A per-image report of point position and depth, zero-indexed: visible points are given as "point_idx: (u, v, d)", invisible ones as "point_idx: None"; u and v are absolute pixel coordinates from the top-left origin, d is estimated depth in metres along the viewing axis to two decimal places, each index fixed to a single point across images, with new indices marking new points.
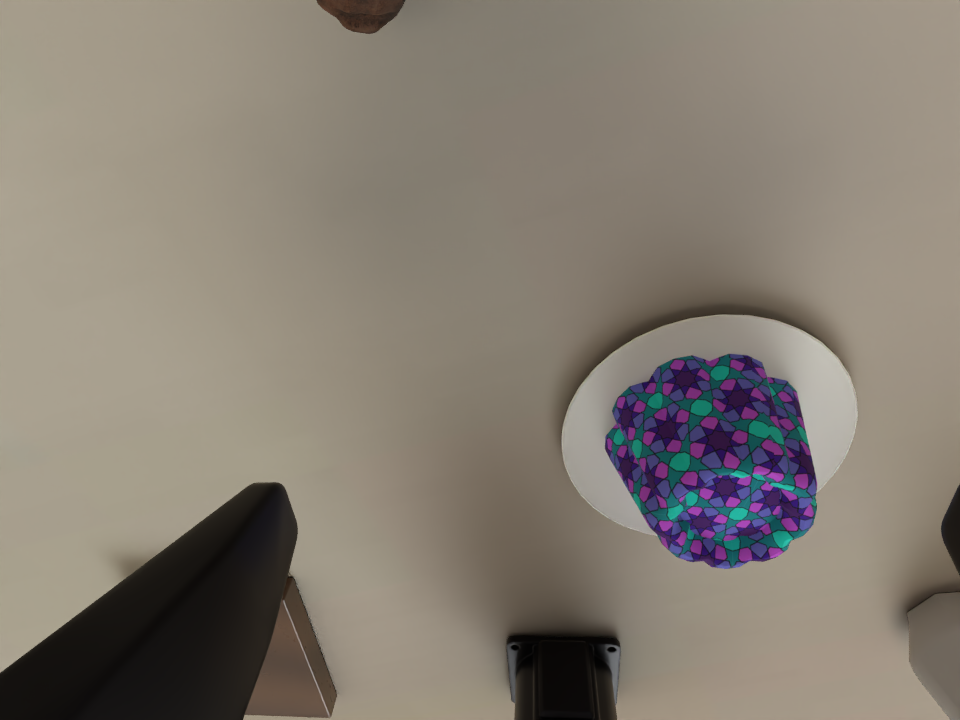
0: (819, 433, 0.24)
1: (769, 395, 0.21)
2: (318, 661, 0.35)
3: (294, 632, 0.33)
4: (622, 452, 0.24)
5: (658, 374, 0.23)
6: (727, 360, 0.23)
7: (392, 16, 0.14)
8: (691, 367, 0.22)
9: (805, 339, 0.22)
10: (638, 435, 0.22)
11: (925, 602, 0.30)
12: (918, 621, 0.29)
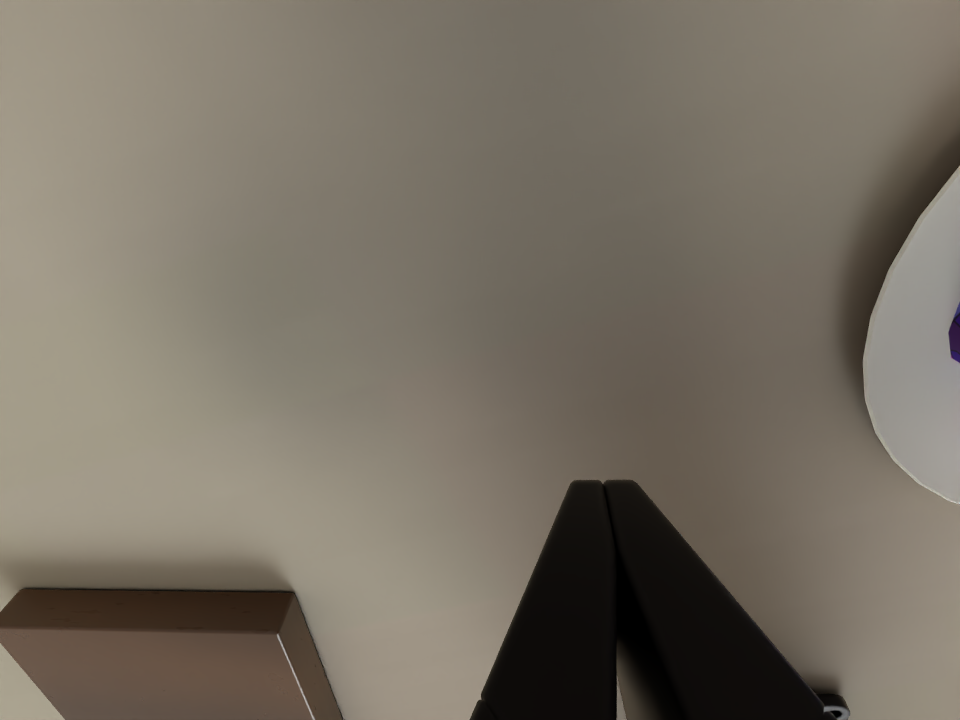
0: None
1: None
2: None
3: (296, 686, 0.19)
4: None
5: None
6: None
7: None
8: None
9: None
10: None
11: None
12: None
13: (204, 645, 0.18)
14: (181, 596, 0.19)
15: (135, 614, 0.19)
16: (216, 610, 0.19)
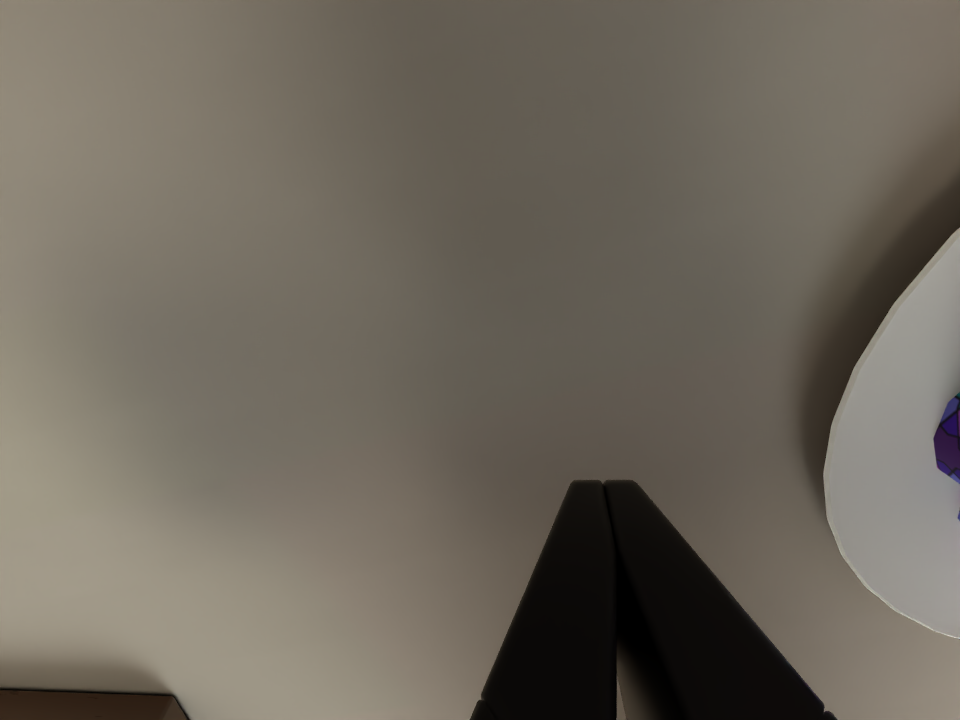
0: None
1: None
2: None
3: None
4: None
5: None
6: None
7: None
8: None
9: None
10: None
11: None
12: None
13: None
14: (42, 698, 0.16)
15: None
16: (79, 718, 0.16)
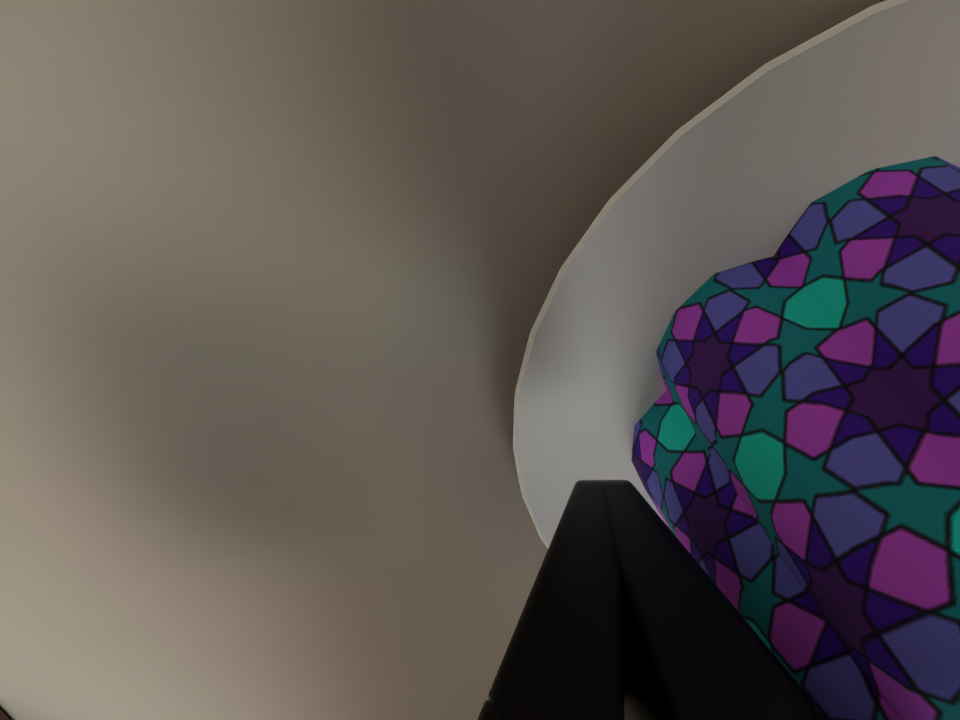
0: None
1: None
2: None
3: None
4: (690, 473, 0.08)
5: (816, 224, 0.07)
6: None
7: None
8: (946, 186, 0.06)
9: None
10: (762, 419, 0.06)
11: None
12: None
13: None
14: None
15: None
16: None
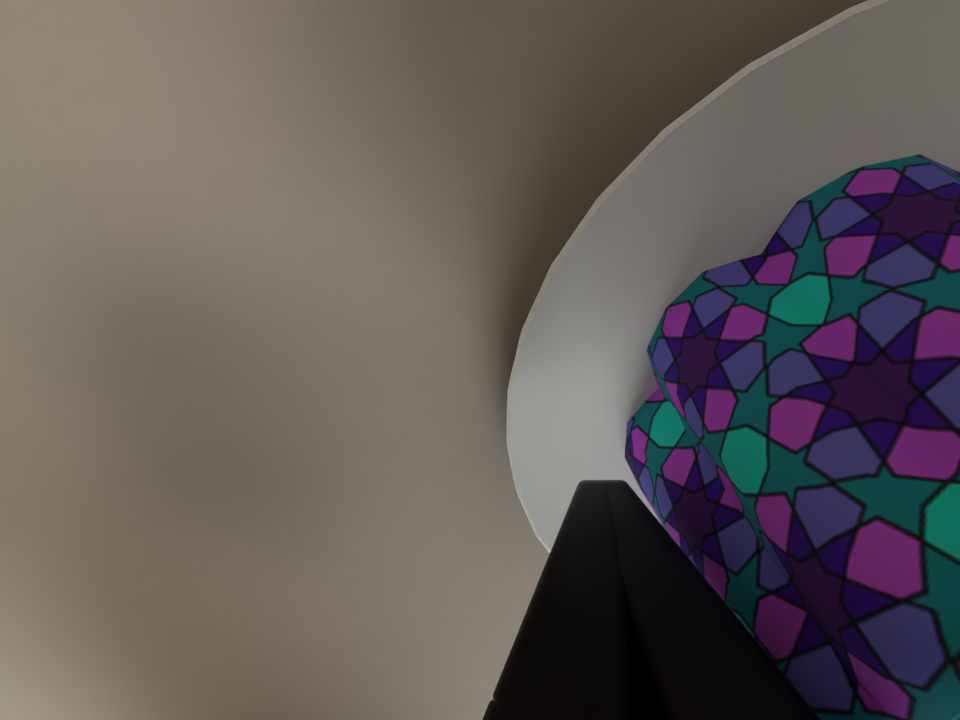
0: None
1: None
2: None
3: None
4: (680, 469, 0.08)
5: (803, 222, 0.07)
6: None
7: None
8: (929, 183, 0.07)
9: None
10: (746, 414, 0.06)
11: None
12: None
13: None
14: None
15: None
16: None
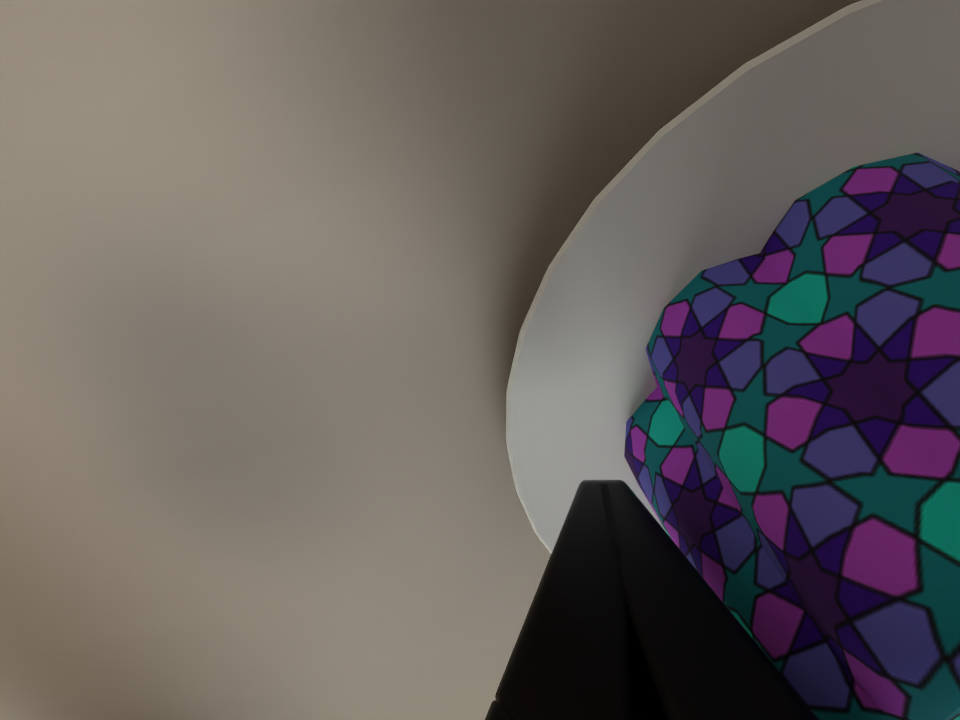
0: None
1: None
2: None
3: None
4: (679, 468, 0.08)
5: (801, 221, 0.07)
6: None
7: None
8: (927, 182, 0.07)
9: None
10: (744, 413, 0.06)
11: None
12: None
13: None
14: None
15: None
16: None
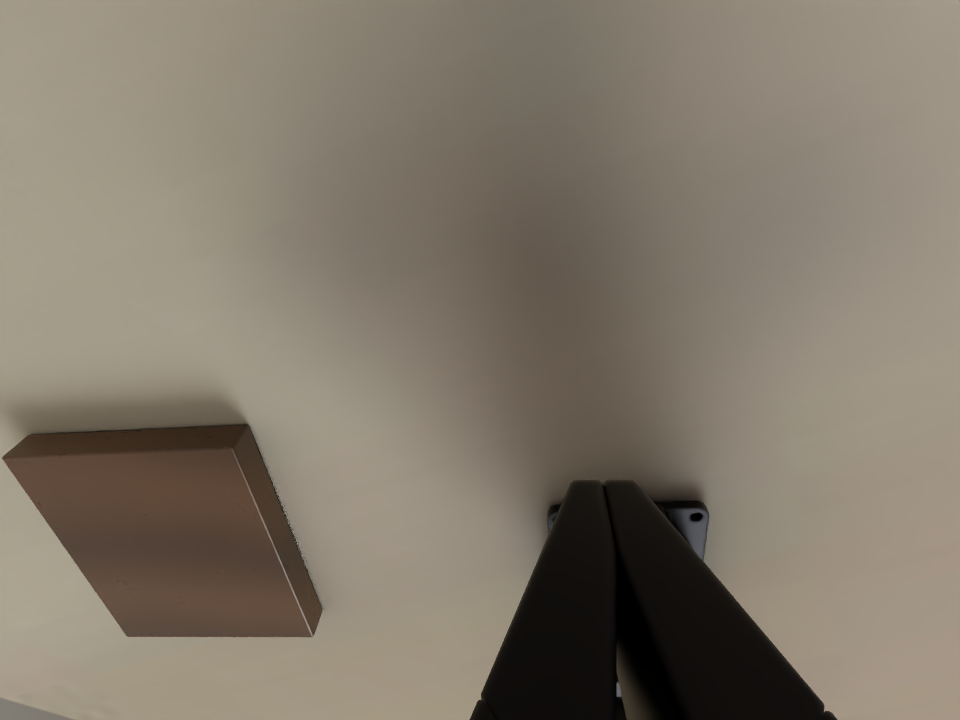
0: None
1: None
2: (292, 555, 0.26)
3: (252, 503, 0.23)
4: None
5: None
6: None
7: None
8: None
9: None
10: None
11: None
12: None
13: (175, 464, 0.23)
14: (157, 431, 0.23)
15: (120, 443, 0.23)
16: (185, 437, 0.23)
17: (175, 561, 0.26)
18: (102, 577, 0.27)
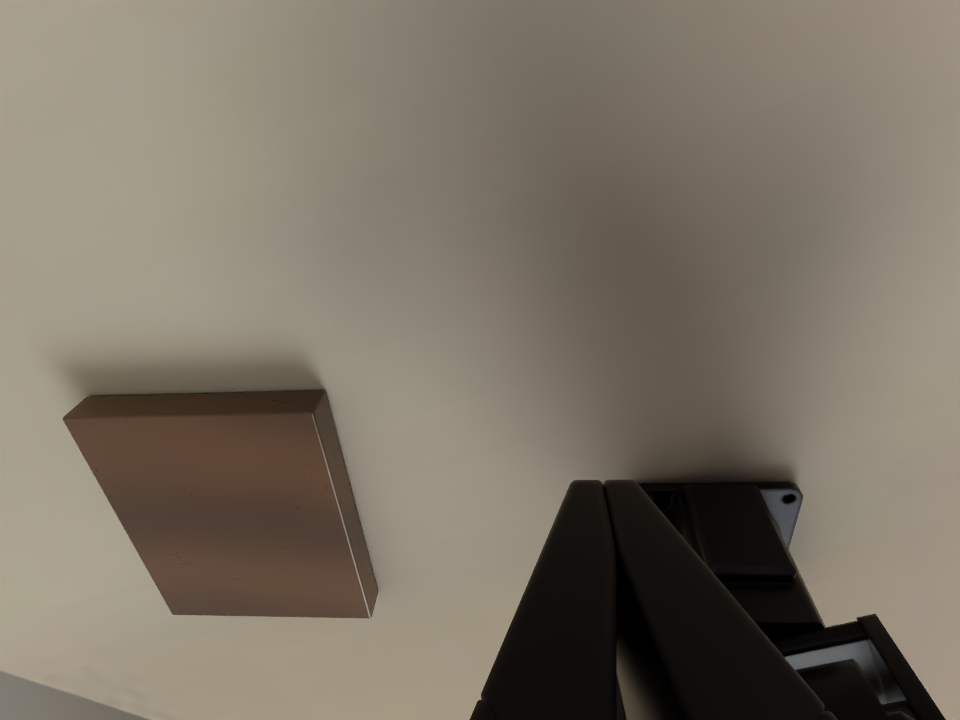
0: None
1: None
2: (356, 532, 0.25)
3: (326, 473, 0.22)
4: None
5: None
6: None
7: None
8: None
9: None
10: None
11: None
12: None
13: (249, 429, 0.21)
14: (228, 395, 0.22)
15: (189, 406, 0.22)
16: (259, 402, 0.22)
17: (234, 534, 0.25)
18: (154, 550, 0.26)
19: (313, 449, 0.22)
